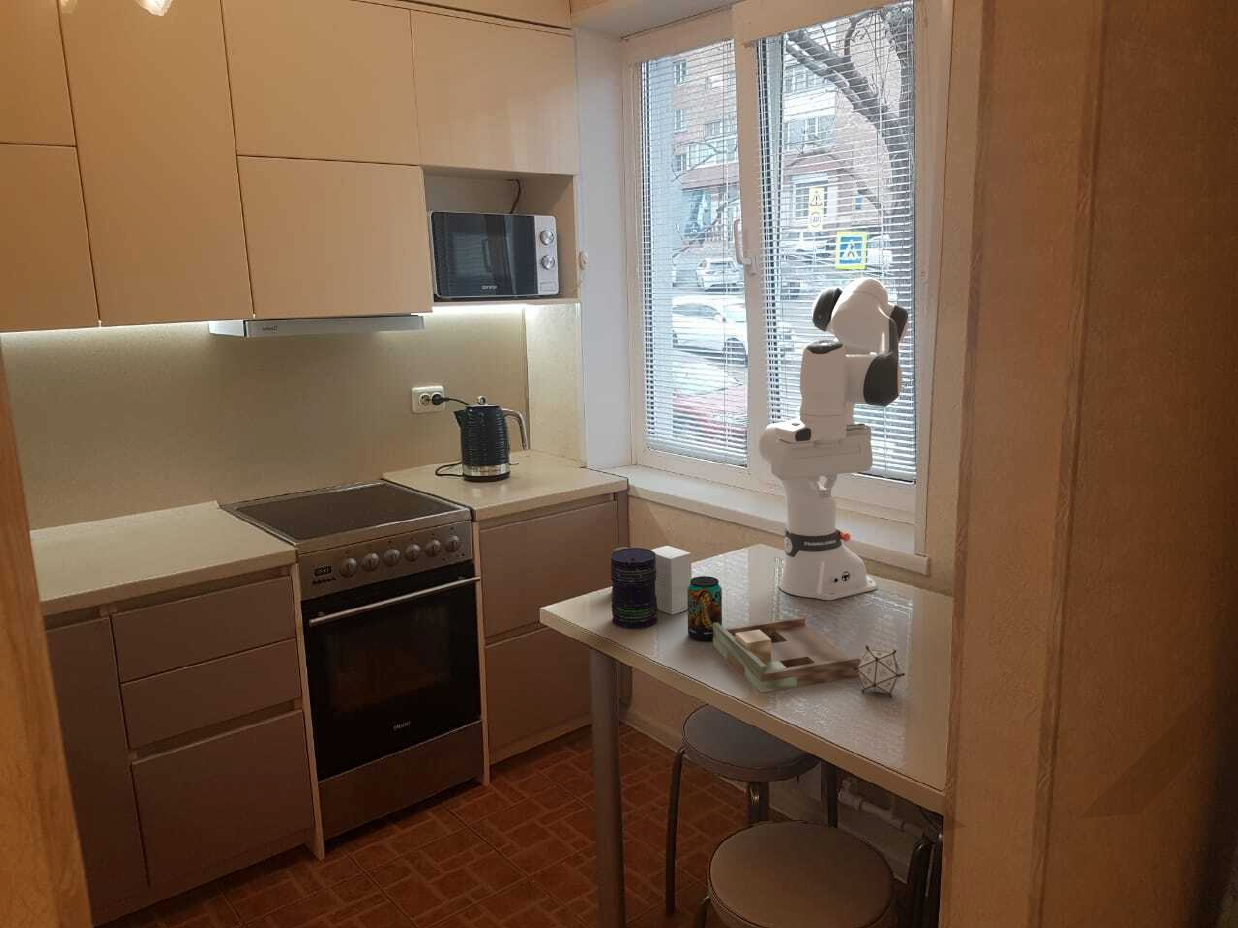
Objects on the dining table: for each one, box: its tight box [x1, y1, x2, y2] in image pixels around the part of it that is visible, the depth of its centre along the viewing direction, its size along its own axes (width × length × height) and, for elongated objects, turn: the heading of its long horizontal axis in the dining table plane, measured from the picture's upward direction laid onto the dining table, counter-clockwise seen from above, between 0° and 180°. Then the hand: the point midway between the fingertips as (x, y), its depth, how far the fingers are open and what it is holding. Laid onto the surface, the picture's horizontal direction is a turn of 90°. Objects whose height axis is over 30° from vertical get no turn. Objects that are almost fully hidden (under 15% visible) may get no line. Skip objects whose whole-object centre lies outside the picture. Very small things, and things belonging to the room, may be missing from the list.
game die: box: [852, 644, 906, 699], centre depth 162 cm, size 9×8×10 cm
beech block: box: [735, 630, 771, 661], centre depth 174 cm, size 5×5×4 cm
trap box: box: [712, 616, 862, 694], centre depth 177 cm, size 20×22×5 cm
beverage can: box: [687, 575, 723, 642], centre depth 189 cm, size 7×7×12 cm
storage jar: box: [610, 547, 658, 630], centre depth 197 cm, size 10×10×15 cm
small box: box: [650, 545, 693, 616], centre depth 205 cm, size 8×6×13 cm
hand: (822, 497), depth 178 cm, fingers closed
